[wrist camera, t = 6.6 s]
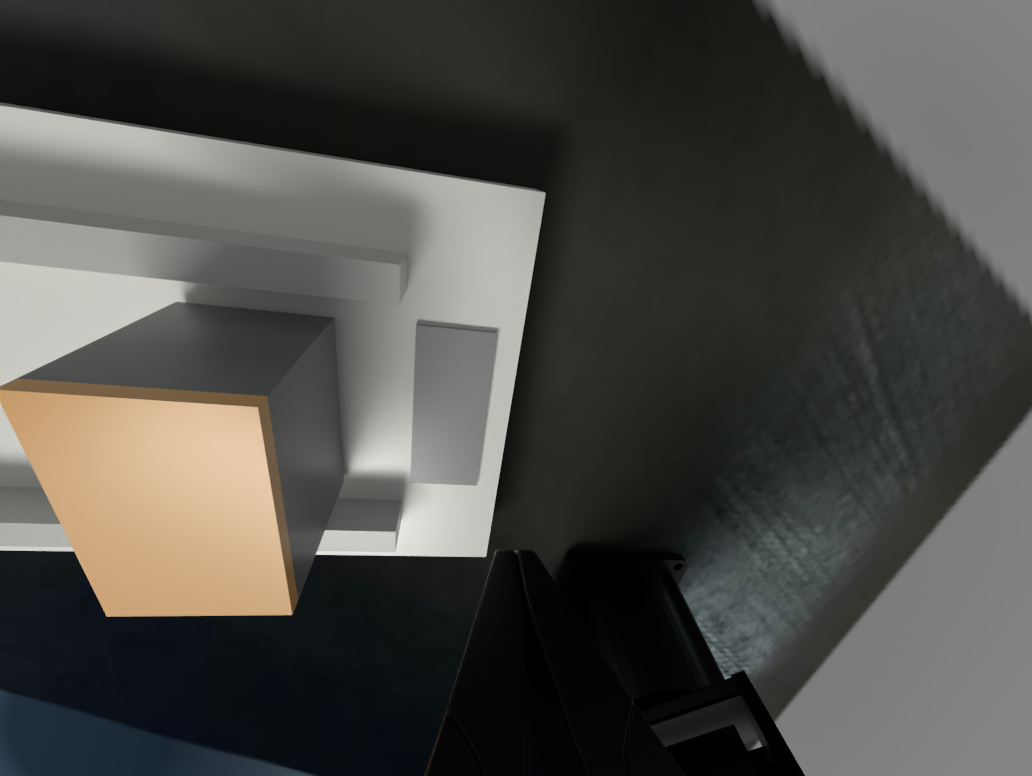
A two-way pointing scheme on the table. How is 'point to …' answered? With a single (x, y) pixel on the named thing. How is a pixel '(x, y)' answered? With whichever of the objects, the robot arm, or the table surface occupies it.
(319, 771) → the table surface
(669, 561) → the robot arm
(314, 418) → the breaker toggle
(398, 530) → the white rail tray
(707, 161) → the table surface
